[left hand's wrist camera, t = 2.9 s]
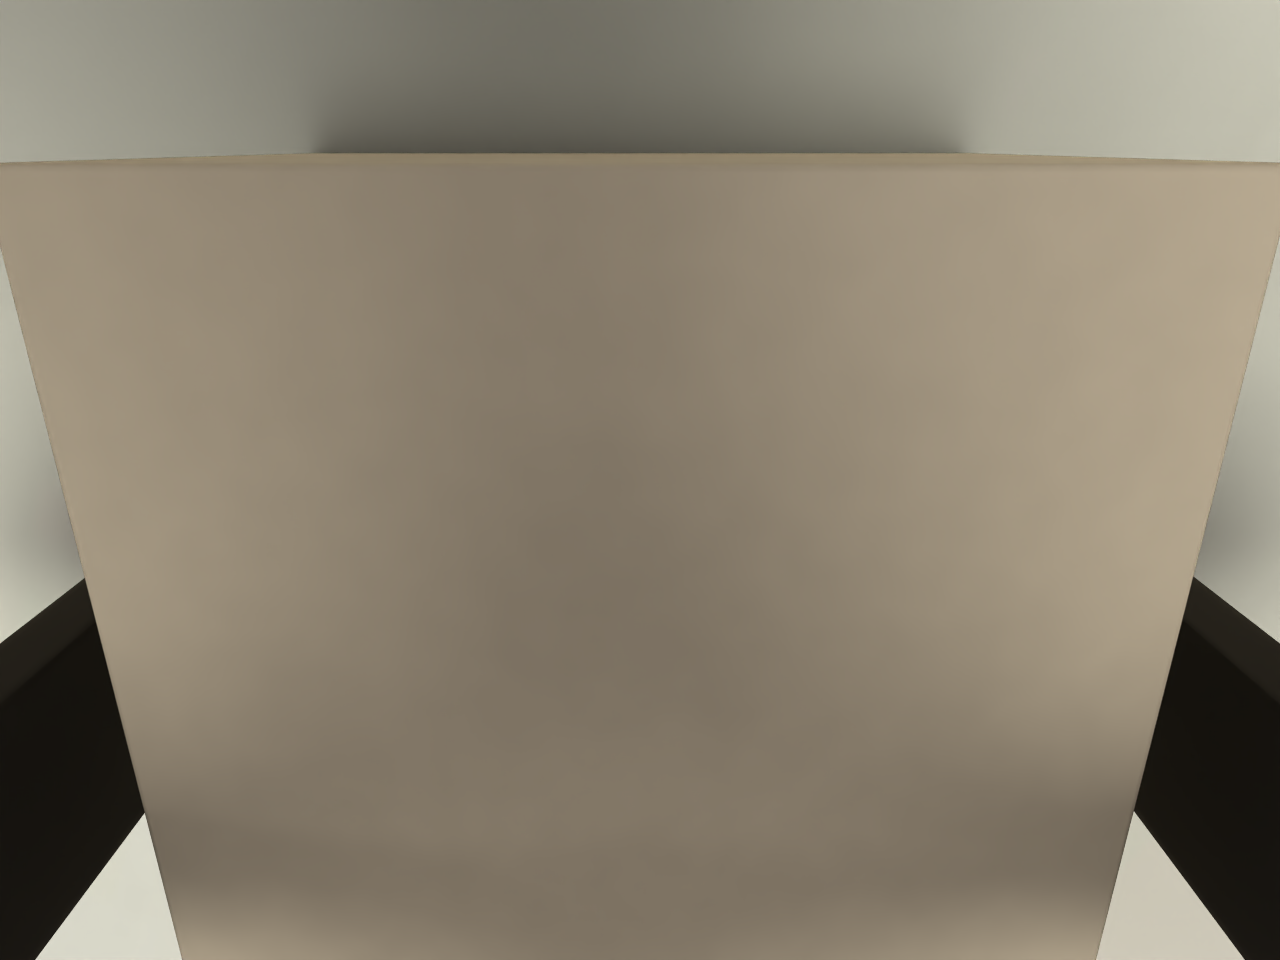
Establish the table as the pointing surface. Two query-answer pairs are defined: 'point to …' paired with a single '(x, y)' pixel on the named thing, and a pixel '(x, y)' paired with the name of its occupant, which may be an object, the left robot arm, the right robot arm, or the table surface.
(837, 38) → the table surface
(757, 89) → the table surface
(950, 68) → the table surface
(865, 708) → the thick board
